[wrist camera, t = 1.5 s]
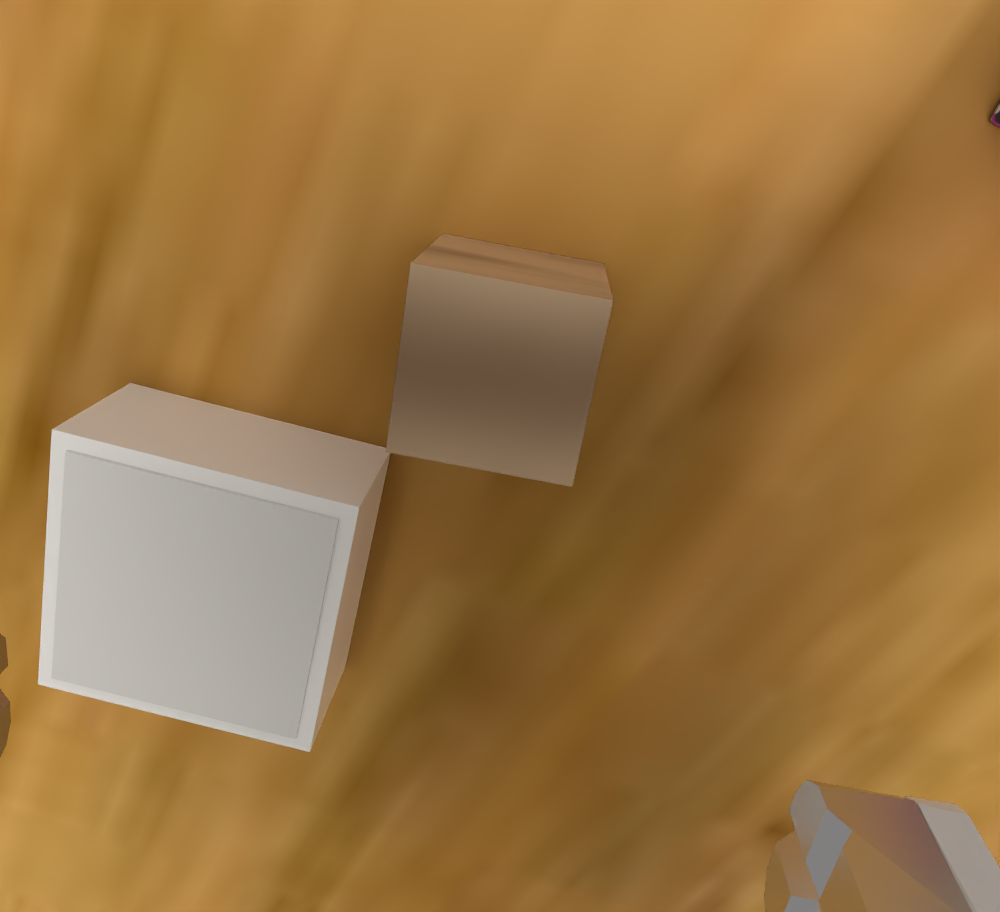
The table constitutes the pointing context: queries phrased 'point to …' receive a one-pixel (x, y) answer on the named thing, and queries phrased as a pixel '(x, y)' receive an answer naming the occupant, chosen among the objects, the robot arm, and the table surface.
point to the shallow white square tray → (205, 562)
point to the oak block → (498, 358)
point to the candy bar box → (996, 116)
